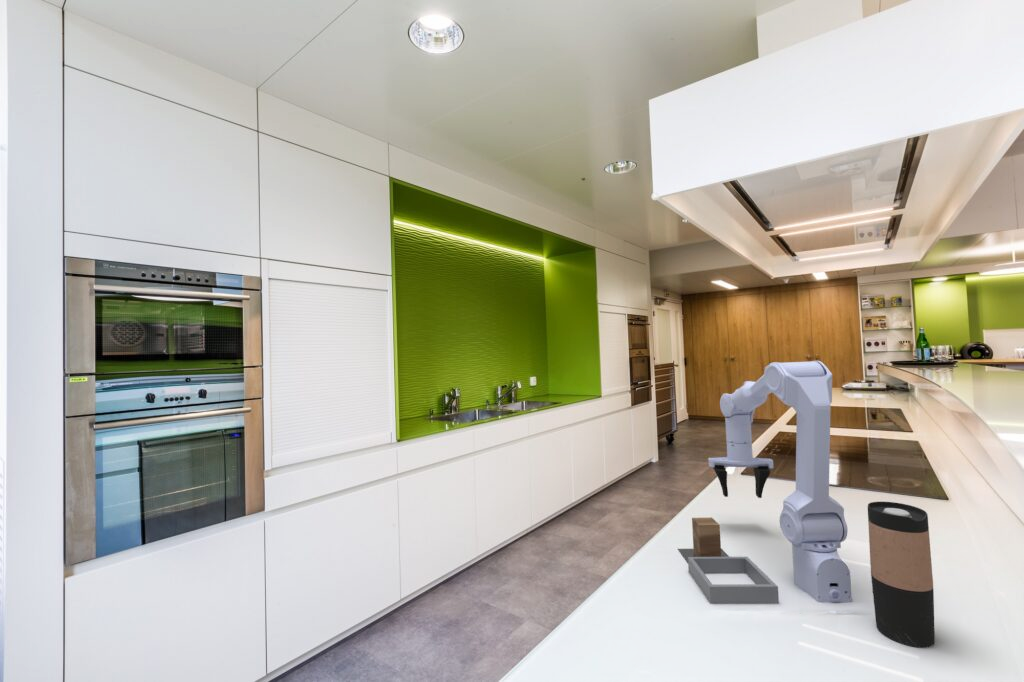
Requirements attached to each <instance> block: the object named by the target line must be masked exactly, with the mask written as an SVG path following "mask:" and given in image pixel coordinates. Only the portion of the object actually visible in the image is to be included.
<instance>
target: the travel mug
mask: <svg viewBox="0 0 1024 682" xmlns="http://www.w3.org/2000/svg"><path fill="white" fill-rule="evenodd" d="M867 519H868V520H867V523H868V540H869V541H868V543H869V544H868V545H869V561H870V562H869V563H870V564H869V565H870V576H871V586H872V598H873V605H874V606H873V608H874V616H875V625H876V628H877V630H878V631H879V632H880V633H881V634H882V635H883V636H885V638H886V637H887V638H888V639H890V640H892V641H894V642H897V643H899V644H902V645H905V646H908V647H913V648H922V649H925V648H930V647H933V646H934V645H935V639H936V637H935V636H936V635H935V633H936V632H935V600H934V599H935V597H934V596H935V595H934V592H935V591H934V580H933V579H934V578H933V566H932V556H931V554H932V551H931V542H930V529H929V528H930V527H929V516H928V513H927V511H925V510H924V509H923V508H921V507H917V506H914V505H909V504H906V503H905V504H904V503H902V502H901V503H900V502H894V501H893V502H892V501H871V502H869V503H867Z"/></svg>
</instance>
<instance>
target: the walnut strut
mask: <svg viewBox="0 0 1024 682" xmlns="http://www.w3.org/2000/svg"><path fill="white" fill-rule="evenodd" d="M691 523H692V524H691V525H692V545H693V548H692V549H694V555H695V556H696V557H721V548H722V547H721V525H720V524H719V522H717V520H715V519H714V518H713V517H691Z"/></svg>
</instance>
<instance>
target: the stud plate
mask: <svg viewBox="0 0 1024 682" xmlns="http://www.w3.org/2000/svg"><path fill="white" fill-rule="evenodd" d="M677 551H678V552H679V554H680V555H681V556H682V557H683V559H684V561H685V562H686V564H688V557H696V556H695V555H694V548H677ZM721 557H730V556H729V554H727V552H726V551H724V550H723V548H722V547H721Z"/></svg>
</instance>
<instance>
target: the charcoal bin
mask: <svg viewBox="0 0 1024 682" xmlns="http://www.w3.org/2000/svg"><path fill="white" fill-rule="evenodd" d="M687 565H688V566H687V567H688V573H689V575H690V576H691V578H692V579H693V580H694V582H695V583H696V585H697V586H698V588H699V589H700V591H701V593H703V595H704V596H705V598H706V599H707V601H708V603H709V604H710V605H771V604H772V605H777V604H778V605H779V604H780V601H779V600H780V598H779V586H778V585H777V584H776V583H775V582H774V581H773V580H772V579H771V578H770V577H769V576H768V575H766V573H765V572H764V571H763V570H762V569H761V568H759V566H758V565H757V564H755V562H754V561H753V560H751V558H749V557H748V556H729V557H688V563H687ZM707 574H710V575H711V574H712V575H713V574H716V575H717V574H718V575H720V574H721V575H722V574H724V575H725V574H745V575H746V576H748V578H749V579H751V581H752V582H753V583H754V584H749V583H748V584H745V583H744V584H739V583H738V584H736V583H735V584H732V583H731V584H729V583H728V584H726V583H725V584H717V583H716V584H712V582H711V580H710V578H708V577H707Z"/></svg>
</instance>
